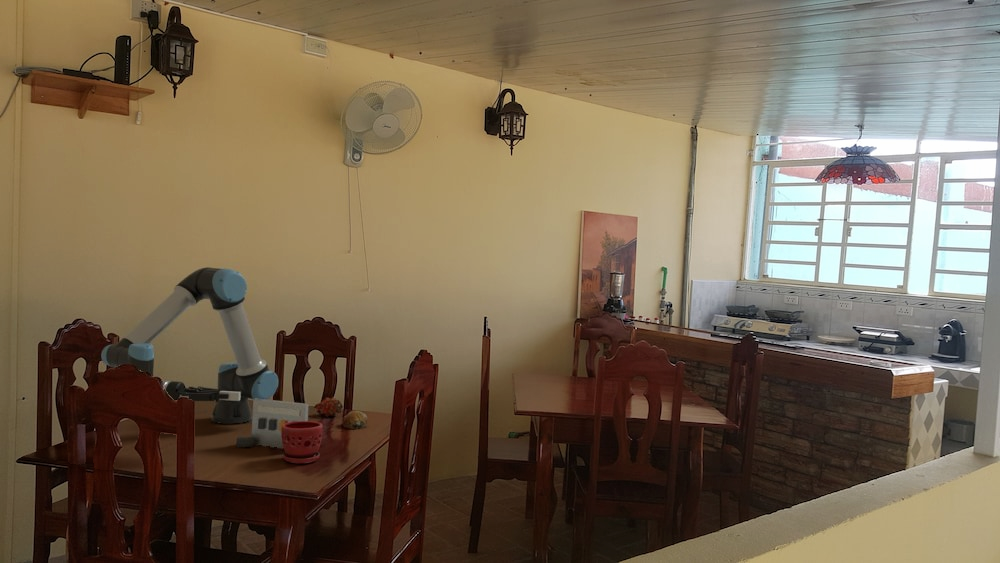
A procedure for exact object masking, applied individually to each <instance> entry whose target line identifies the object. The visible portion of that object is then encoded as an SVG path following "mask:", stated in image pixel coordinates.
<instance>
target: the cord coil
mask: <svg viewBox="0 0 1000 563" xmlns="http://www.w3.org/2000/svg"><path fill="white" fill-rule="evenodd" d="M251 437H252V436H247V435H246V436H238V437H237V438H236V443H235V446H237V447H236V448H239V447H243V448H242V449H245V448H244V447H250V448H253V447H252V446H254V447H255V446H256V445H255V438H251Z"/></svg>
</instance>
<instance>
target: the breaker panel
mask: <svg viewBox="0 0 1000 563" xmlns="http://www.w3.org/2000/svg"><path fill="white" fill-rule="evenodd" d="M252 402H253V403H252V404H253V405H252V420H251V436H250V437H251V438H255V445H254V446H258V445H263V446H262V447H266V446H270V448H274V447H277V448H276V449H283V444H282V436H281V430H282V425H283V424H285V423H289V422H296V421H308V420H309V403H303V402H294V401H285V400H274V399H267V400H266V399H257V398H256V399H252ZM286 439H287V437H286Z"/></svg>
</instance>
